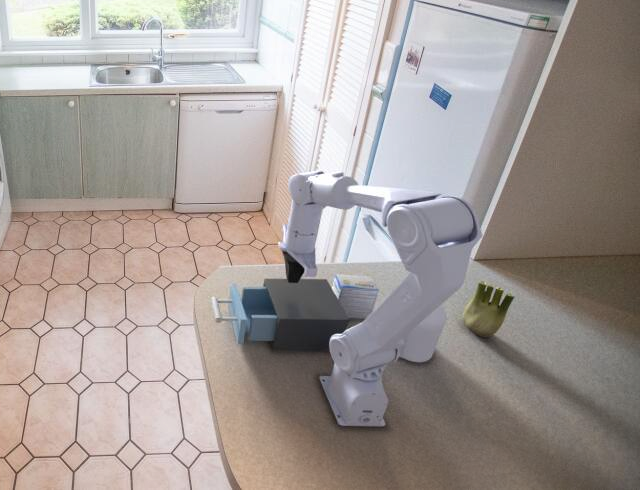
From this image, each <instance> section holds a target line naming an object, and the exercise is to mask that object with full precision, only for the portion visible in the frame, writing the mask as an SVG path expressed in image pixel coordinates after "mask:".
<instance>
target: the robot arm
mask: <svg viewBox="0 0 640 490" xmlns="http://www.w3.org/2000/svg"><path fill="white" fill-rule="evenodd" d="M344 174H345V173H344V172H343V171H335V172H332V173H326V172H324V171H323V170H315V171H309V172H308V171H307V172H303V173H302V172H301V173H296V174H293V175H291V176H290V178H289V179H288V183H287V189H288V193H289V195H290V198H291V205H290V211H289V216H288V222H287V224H283V226H282V231H281V232H282V234H283V241H279V242H278V245H277V246H278V248H279V250H280V251H281V253H282V256H283V260H284V266H285V268H284V269H285V279H287V280H288V283H298V282H299V280H300V279H302V277H303V275H304V276H305V277H307V278H313V277H314V278H316V277H317V273H318V266H317V263H316V258H317V257H316V245H317V244H316V243H317V238H318V235H319V229H320V224H321V220H322V215H323V211H324V209H325V208H327V207H329V208H334V209H338V210H343V211H347V210H351V209H352V208H354V207H355V206H357V207H360V208H363V209H367V210H370V211H371V210H372V211H375V212H379V213H381V226H382V227H384V228H386V229H387V231H388V235H389V237H390V239H391V242H392V244H393V246H394V248H395V250H396V252H397V255H398V257H399V259H400V261H401V264H402V265H403V267H404V269H405V271H407V272H408V274H407V275H406V276H405V277H404V278H403V279H402V280H400V282H399V283H398V284H397V285H396V286H395V288H393V289H392V290H391V292H390V293H389V294H388V295H387V296H385V298H384V299H383V300H381V302H380V303H379V304H378V305H377V307H375V308H374V309H373V312H372V313H371V314H370V315H369V316H368V317H367V318H366V319H363V321H362V322H360V323H358V324H356V325H354V326H352V327H350V328H347V330H346V331H344V332H343V333H342V334H334V335H333V336H332V337H331V338H330V343H329V349H330V351H329V353H330V357H331V358H332V361H333V362H334V363H333V368H332V371H331V375H320V376H319V378H318V379H319V382H320V385H321V386H322V388H323V391H324V393H325V396H326V398H327V401H328V403H329V405H330V407H331V410H332V412H333V415H334V418H335V420H336V422H337V425H339V426H340V427H385V426H386V421H385V420H384V415H385V412H386V410H387V408H388V404H389V400H388V396H387V394H386V391H385V389H384V386H383V372H384V370H385V369H387V367H388V364H390V363H395V362H397V361H398V360H399V358H400V357H399V354H400V350H401V348H402V347H403V346H404V345H405V342H404V340H403V337H404V336H406V335H407V334H408V333H409V332H410V331H411V330H412V329H414V328H415V327H416V326H417V325H418V324H419V323H421V322H422V321H423V320H424V319H425V318H426V317H427V316H429V315H430V314H431V313H432V312H433V311H434V310H435V309H437V308H438V307H439V306H440V305H441V306H442V305H443V304H444V303H445V302H446V301H447V300H448V299H449V298H450V297H452V296H453V295H454V294H455V293H456V292H458V291H459V290H460V289H461V287H462V286H463V285H464V283H465V280H466V274H467V271H468V268H469V263H470V259H471V254H472V250H473V248H474V247H475V246H476V245H477V244H478V242H479V241H480V240H481V239H482V238H483V232H482V229H481V225H480V222H479V217H478V215H477V212H476V210H475V208H474V207H473V206H472V205H471V203H470V202H468V201H467V200H466V199H464V198H463V197H461V196H457V195H445V196H442V195H443V193H440V192H437V191H431V190H422V189H410V188H398V187H385V186H375V185H363V184H362V185H361V184H359V183H358V181H357V180H356V179H355V178H353V177H351V176H347V175H344ZM440 196H442V197H440ZM438 197H439V198H438Z"/></svg>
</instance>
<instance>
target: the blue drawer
mask: <svg viewBox="0 0 640 490" xmlns="http://www.w3.org/2000/svg"><path fill="white" fill-rule="evenodd" d="M228 295H229V297H228V298H218V297H216V296H212V297H211V298H210V302H211V306H212V312H213V316H214V321H215V323H218V324H220V323H222V322H231V324H232V328H233V332H234V336H235V340H236V343H237V345H244V342H245V335H246V334H247V338H248V341H249V342H271V341H274V338H275V332H276V327H277V322H278V317H277V315H276V312H275V309H274V307H273V304H272V302H271V299H270V296H269V294H268V291H267V288H266V287H263V286H252V285H251V286H247V285H246V286H245V285H243V286H242V291H241V294H240V291H239V288H238V284H237V283H236V282H235V283H234V282H231V283H230V288H229V294H228ZM220 304H227V308H228V312H229V316H222V313H221V308H220Z"/></svg>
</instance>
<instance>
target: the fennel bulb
mask: <svg viewBox="0 0 640 490" xmlns="http://www.w3.org/2000/svg"><path fill="white" fill-rule="evenodd" d="M493 291H494V293H493ZM504 291H505V289H503V287H499V286H497V287H496V288H495V286H494V285H493V284H487V282H485V281H482V280H480V281H478V283H477V288H476V290H475V293H474V296H473V297H472V299H471V300H470V301H469V303H467V305H466V307H465V308H464V311H463V313H462V317H461V320H462V322H463V324H464V326H465V327H466V329H468V330H469V332H471V333H473V334H475V335H477V336H479V337H482V338H483V337H484V338H487V337H489V338H490V337H491V336H493V335H495V334H496V333H497V332H498V331H499V330H500V329H501V327H502V325H503V323H504V322H505V319H506V315H507V314H508V313H507V312H508V310H509V309H510V306H511V304H512V302H513V301H514V299H515V297H516V296H515V295H514V294H513V293H510V292H507V293H506V294H505V296H504V298H503V299H502V297H503V294H504ZM501 300H502V301H501Z"/></svg>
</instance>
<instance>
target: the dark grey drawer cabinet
mask: <svg viewBox="0 0 640 490" xmlns="http://www.w3.org/2000/svg"><path fill="white" fill-rule="evenodd" d="M262 284H263V285H262V287H266V288H267V291H268V294H269V296H270V299H271V302H272V304H273V307H274V309H275V312H276V315H277V317H278V322H277V327H276V332H275V338H274V341H270V344H271V347H272V350H273V351H281V352H282V351H286V352H287V351H289V352H330V349H329V343H330V338H331V337H332V336H333V335H334V334H342V333H343V332H344V331H346V330H348V327H349V323H350V318H348V316H347V315H346V313H345V311H344V309H343V307H342V306H341V304H340V302H339V300H338V299H337V297H336V295H335V293H334V291H333V290H332V286H331V285H330V283H329V280H327V278H301V279H300V280H299V282H298V283H288V280H287V278H263V283H262Z"/></svg>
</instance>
